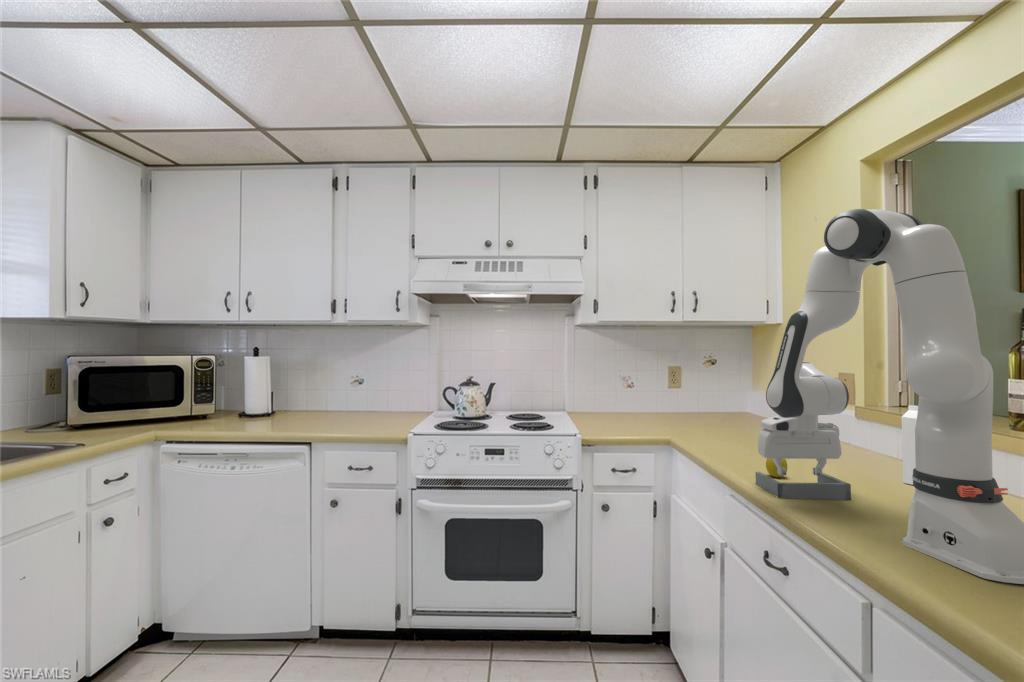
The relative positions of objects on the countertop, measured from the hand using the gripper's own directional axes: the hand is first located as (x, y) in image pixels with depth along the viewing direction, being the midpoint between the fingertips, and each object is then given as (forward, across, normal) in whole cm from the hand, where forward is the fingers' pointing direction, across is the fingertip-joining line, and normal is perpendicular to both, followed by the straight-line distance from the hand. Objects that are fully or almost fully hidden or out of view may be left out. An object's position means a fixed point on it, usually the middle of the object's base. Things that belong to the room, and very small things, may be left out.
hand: (799, 474), depth 126 cm
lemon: (+5, 0, -13) cm, 14 cm away
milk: (+5, -38, -8) cm, 39 cm away
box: (+5, 0, 0) cm, 5 cm away
